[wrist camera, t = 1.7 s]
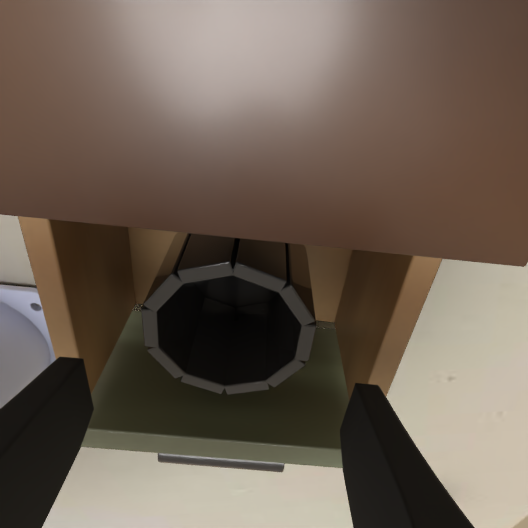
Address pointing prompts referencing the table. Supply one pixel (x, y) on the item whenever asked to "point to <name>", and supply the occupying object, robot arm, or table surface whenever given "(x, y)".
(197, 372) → the faceted hollow tube
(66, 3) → the cabinet
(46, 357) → the robot arm
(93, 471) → the table surface
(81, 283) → the drawer
